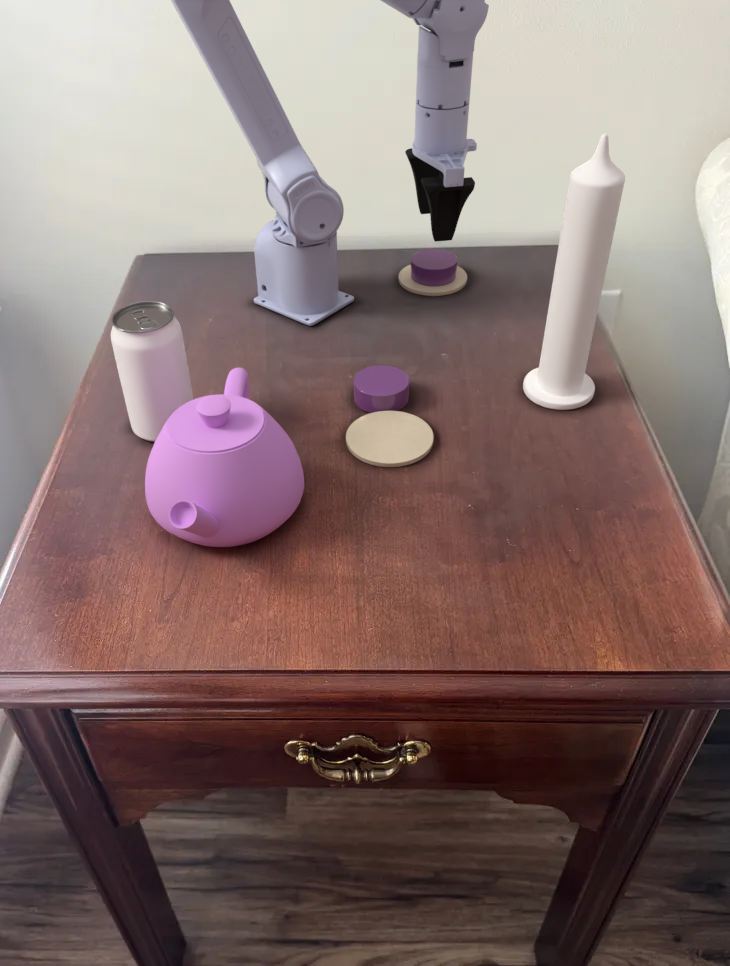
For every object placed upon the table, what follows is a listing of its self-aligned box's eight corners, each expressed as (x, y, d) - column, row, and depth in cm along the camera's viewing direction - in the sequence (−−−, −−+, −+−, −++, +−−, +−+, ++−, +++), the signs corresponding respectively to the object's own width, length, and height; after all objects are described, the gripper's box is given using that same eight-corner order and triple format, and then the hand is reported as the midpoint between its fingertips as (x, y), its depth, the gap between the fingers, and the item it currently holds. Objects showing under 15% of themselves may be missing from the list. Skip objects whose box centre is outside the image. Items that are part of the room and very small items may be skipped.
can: (144, 452, 82) (118, 341, 74) (123, 418, 86) (97, 309, 78) (206, 431, 84) (189, 322, 76) (183, 399, 88) (164, 292, 80)
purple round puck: (404, 282, 104) (405, 265, 102) (417, 262, 108) (418, 246, 106) (449, 289, 102) (450, 272, 101) (461, 268, 106) (462, 252, 104)
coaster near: (327, 444, 82) (327, 440, 81) (382, 404, 86) (382, 400, 86) (397, 479, 78) (397, 475, 77) (450, 435, 82) (451, 431, 82)
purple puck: (342, 400, 87) (342, 382, 85) (376, 377, 90) (377, 358, 88) (385, 421, 84) (386, 402, 83) (419, 395, 87) (420, 377, 86)
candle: (591, 414, 84) (650, 153, 66) (519, 405, 85) (557, 147, 68) (595, 374, 89) (651, 120, 71) (526, 367, 90) (564, 116, 72)
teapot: (114, 584, 69) (83, 482, 62) (181, 436, 83) (164, 340, 76) (280, 599, 67) (270, 497, 60) (320, 446, 82) (316, 348, 74)
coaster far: (384, 282, 105) (384, 279, 105) (425, 258, 109) (425, 254, 109) (440, 303, 101) (440, 299, 101) (480, 276, 105) (480, 272, 105)
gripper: (497, 120, 86) (484, 249, 96) (463, 78, 97) (454, 198, 106) (428, 126, 86) (422, 255, 95) (401, 83, 96) (398, 203, 106)
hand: (435, 225), depth 100 cm, fingers open, 7 cm apart
